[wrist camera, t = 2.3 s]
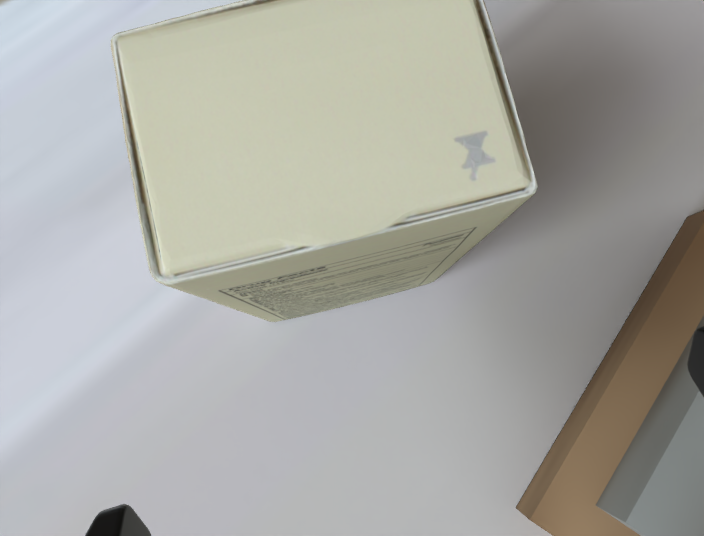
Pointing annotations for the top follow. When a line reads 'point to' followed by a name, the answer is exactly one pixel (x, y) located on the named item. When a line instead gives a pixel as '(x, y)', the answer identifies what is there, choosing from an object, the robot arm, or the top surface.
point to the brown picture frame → (636, 420)
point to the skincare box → (318, 147)
